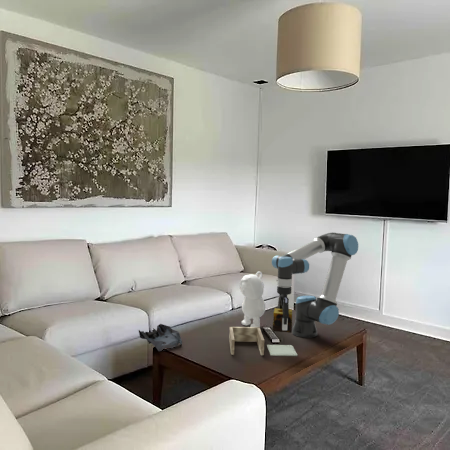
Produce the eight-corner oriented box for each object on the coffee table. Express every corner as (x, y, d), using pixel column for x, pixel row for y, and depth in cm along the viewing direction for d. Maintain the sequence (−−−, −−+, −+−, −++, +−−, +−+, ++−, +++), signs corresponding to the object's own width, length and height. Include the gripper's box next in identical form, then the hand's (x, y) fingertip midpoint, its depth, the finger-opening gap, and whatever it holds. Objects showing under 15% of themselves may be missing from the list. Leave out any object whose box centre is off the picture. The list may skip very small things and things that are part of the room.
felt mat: (292, 346, 235) (292, 345, 235) (297, 356, 221) (297, 354, 221) (266, 345, 234) (266, 344, 234) (270, 355, 220) (270, 354, 220)
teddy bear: (250, 333, 255) (252, 275, 252) (232, 325, 269) (234, 270, 266) (273, 327, 266) (275, 272, 263) (255, 320, 280) (256, 268, 277)
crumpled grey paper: (154, 354, 218) (154, 337, 217) (136, 343, 233) (137, 326, 233) (184, 347, 229) (184, 331, 228) (165, 336, 244) (165, 321, 244)
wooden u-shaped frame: (258, 340, 242) (259, 327, 241) (263, 355, 221) (264, 340, 220) (229, 340, 241) (229, 326, 240) (231, 354, 220) (231, 339, 219)
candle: (291, 333, 221) (292, 314, 220) (272, 331, 222) (273, 312, 222) (292, 327, 231) (293, 309, 230) (273, 325, 232) (274, 307, 232)
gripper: (273, 281, 236) (272, 319, 238) (281, 291, 213) (279, 333, 215) (287, 281, 237) (285, 320, 238) (296, 291, 213) (293, 334, 215)
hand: (282, 326), depth 226 cm, fingers closed on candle, 11 cm apart
